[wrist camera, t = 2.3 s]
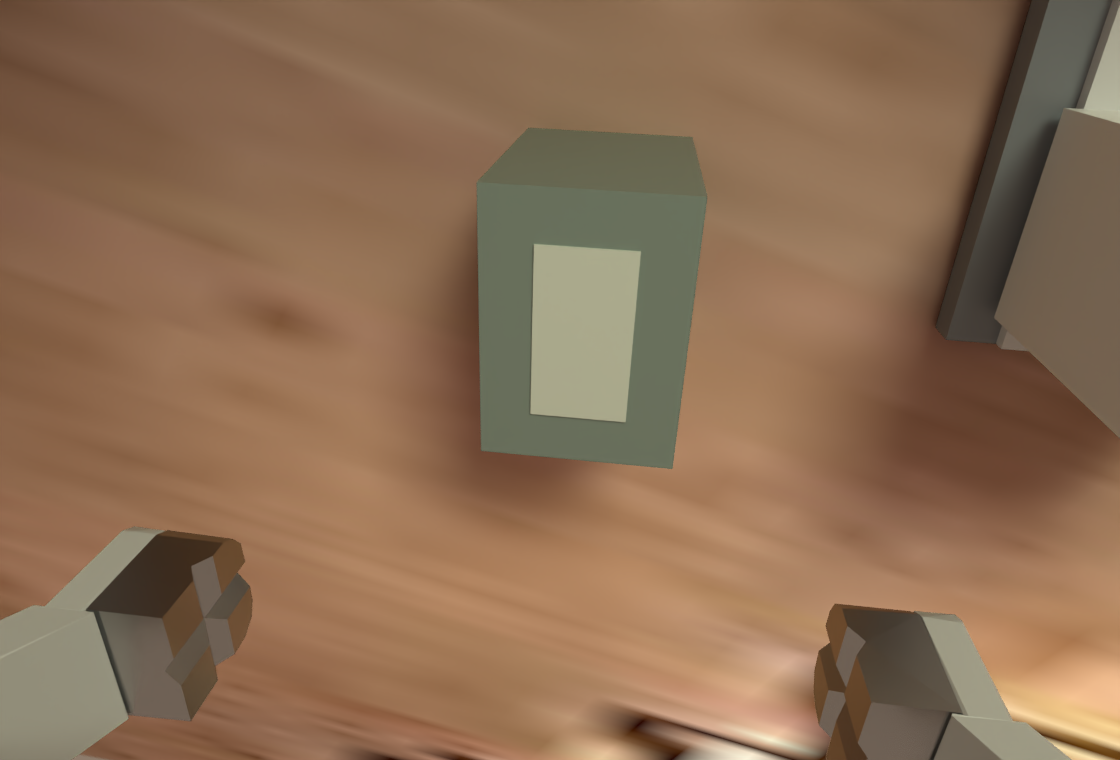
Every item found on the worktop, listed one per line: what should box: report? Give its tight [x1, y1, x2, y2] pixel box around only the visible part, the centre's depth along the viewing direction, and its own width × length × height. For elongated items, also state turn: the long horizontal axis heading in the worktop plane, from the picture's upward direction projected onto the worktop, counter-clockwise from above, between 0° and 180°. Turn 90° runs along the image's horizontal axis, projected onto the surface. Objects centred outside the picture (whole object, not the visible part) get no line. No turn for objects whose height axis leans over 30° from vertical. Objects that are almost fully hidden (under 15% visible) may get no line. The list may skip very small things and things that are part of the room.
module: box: [477, 128, 707, 469], centre depth 21 cm, size 7×5×8 cm
